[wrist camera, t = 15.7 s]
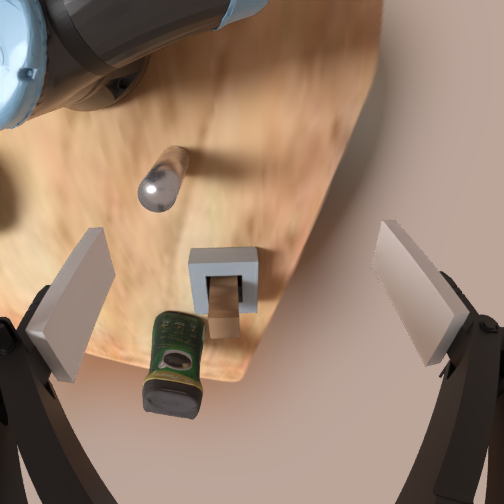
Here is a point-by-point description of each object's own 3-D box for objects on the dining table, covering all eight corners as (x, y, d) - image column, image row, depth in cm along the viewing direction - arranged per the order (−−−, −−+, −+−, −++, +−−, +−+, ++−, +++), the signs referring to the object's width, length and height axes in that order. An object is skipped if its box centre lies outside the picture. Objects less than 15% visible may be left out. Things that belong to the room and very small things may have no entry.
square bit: (212, 284, 52) (210, 338, 42) (211, 264, 49) (207, 318, 39) (237, 283, 52) (239, 338, 42) (236, 263, 50) (239, 317, 40)
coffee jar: (152, 334, 58) (137, 417, 42) (157, 305, 54) (138, 394, 38) (200, 344, 60) (196, 427, 44) (209, 317, 56) (206, 406, 40)
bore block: (196, 298, 53) (195, 314, 50) (190, 248, 48) (188, 263, 44) (255, 296, 54) (257, 312, 50) (256, 246, 48) (258, 261, 45)
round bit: (162, 175, 41) (140, 213, 31) (159, 147, 39) (135, 177, 29) (190, 173, 41) (178, 211, 31) (189, 145, 39) (174, 174, 29)
